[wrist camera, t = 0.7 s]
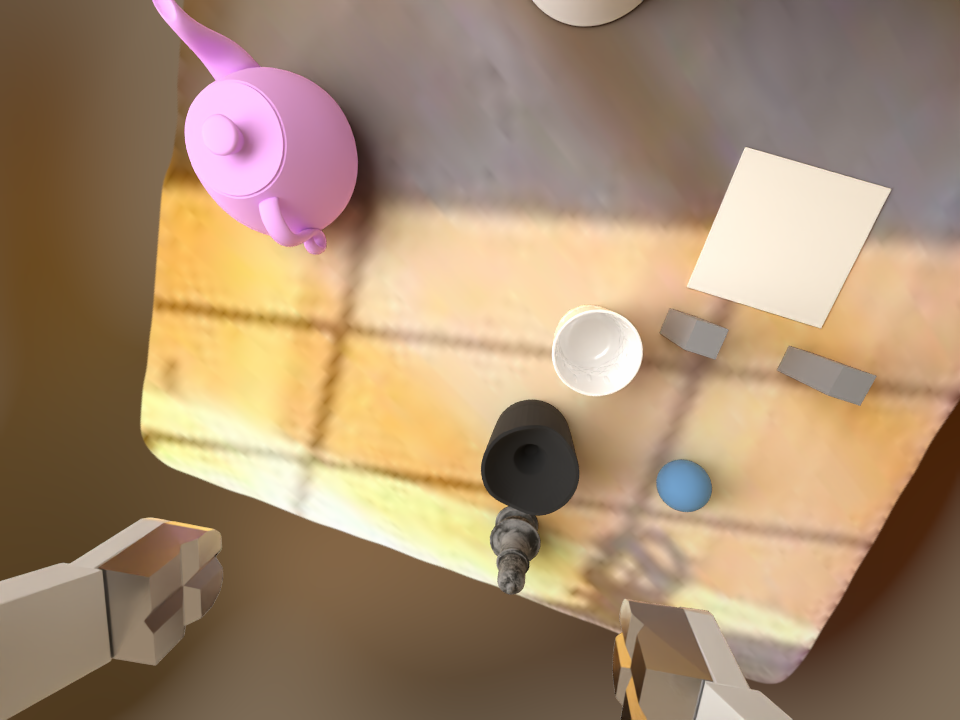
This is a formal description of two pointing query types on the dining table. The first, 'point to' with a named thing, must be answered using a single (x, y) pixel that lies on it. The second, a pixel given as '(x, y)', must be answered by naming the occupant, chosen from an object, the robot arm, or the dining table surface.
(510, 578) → the grey chess piece
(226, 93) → the teapot
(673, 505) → the ball
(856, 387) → the post
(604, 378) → the white cup
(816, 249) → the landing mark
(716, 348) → the post
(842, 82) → the dining table surface
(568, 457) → the pen holder
